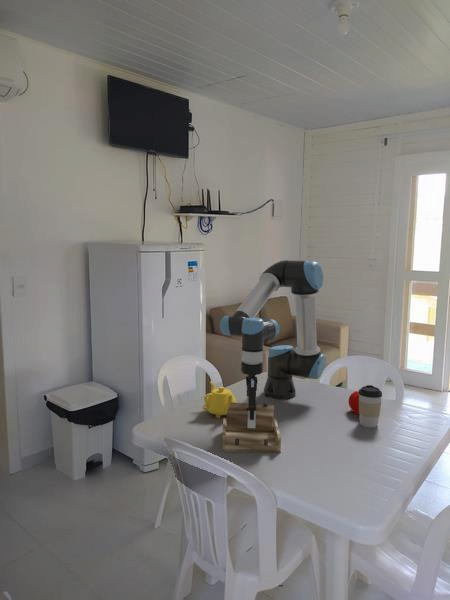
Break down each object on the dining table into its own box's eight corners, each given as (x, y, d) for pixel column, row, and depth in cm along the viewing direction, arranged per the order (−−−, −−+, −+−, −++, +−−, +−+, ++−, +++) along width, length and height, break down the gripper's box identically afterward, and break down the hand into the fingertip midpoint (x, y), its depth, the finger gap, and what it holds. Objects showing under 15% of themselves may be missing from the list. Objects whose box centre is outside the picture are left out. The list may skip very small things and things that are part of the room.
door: (230, 415, 168) (230, 399, 167) (273, 418, 165) (274, 402, 165) (226, 426, 157) (226, 410, 156) (272, 430, 154) (272, 413, 154)
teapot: (193, 408, 194) (193, 383, 192) (224, 403, 200) (224, 378, 199) (213, 425, 176) (213, 397, 174) (246, 419, 182) (246, 392, 181)
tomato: (376, 419, 184) (377, 398, 183) (346, 414, 189) (347, 394, 188) (378, 410, 194) (379, 390, 193) (349, 406, 198) (350, 386, 197)
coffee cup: (382, 429, 174) (384, 392, 172) (357, 427, 176) (359, 390, 174) (378, 420, 183) (380, 385, 181) (355, 418, 185) (357, 383, 183)
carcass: (223, 432, 170) (223, 418, 169) (275, 432, 170) (276, 419, 169) (222, 451, 154) (222, 436, 153) (280, 452, 154) (281, 437, 153)
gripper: (240, 353, 170) (239, 408, 173) (242, 371, 146) (240, 434, 149) (260, 353, 170) (259, 408, 173) (265, 371, 146) (263, 435, 149)
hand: (250, 420), depth 161 cm, fingers closed on door, 11 cm apart
